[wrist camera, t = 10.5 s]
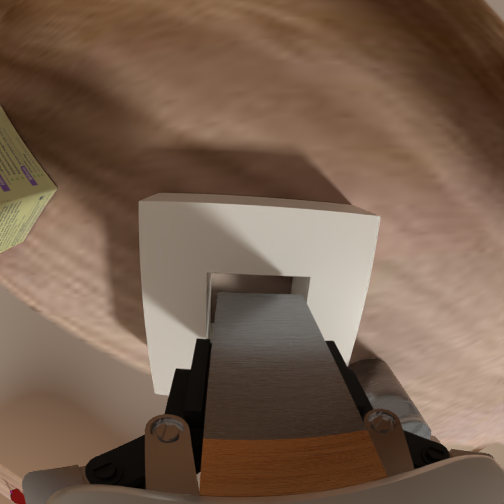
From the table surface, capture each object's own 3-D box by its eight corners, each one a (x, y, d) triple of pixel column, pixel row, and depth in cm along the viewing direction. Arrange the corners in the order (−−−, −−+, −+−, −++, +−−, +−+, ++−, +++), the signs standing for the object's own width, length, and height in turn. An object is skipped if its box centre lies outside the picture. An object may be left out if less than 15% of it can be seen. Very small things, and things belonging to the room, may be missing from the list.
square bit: (302, 294, 14) (387, 476, 4) (291, 361, 15) (338, 531, 6) (217, 291, 14) (199, 494, 4) (216, 359, 15) (208, 540, 5)
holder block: (352, 204, 18) (380, 216, 14) (323, 362, 21) (338, 396, 18) (159, 192, 17) (138, 201, 13) (165, 358, 20) (155, 393, 17)
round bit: (398, 355, 22) (444, 417, 14) (378, 404, 24) (410, 465, 16) (335, 361, 21) (370, 436, 14) (320, 412, 23) (343, 482, 16)
